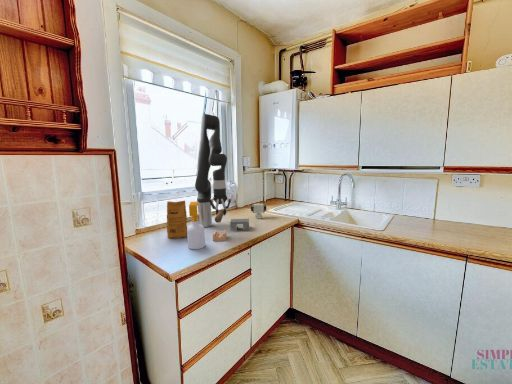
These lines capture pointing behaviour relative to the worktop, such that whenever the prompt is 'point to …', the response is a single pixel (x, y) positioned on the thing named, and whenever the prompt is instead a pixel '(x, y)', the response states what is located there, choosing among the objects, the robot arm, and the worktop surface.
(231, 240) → the worktop surface
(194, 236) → the soap bottle
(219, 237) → the v block
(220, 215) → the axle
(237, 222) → the grey rectangular block
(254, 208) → the pneumatic valve
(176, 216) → the coffee package
